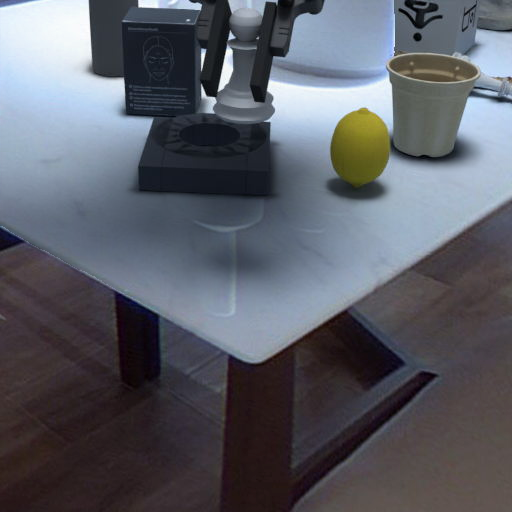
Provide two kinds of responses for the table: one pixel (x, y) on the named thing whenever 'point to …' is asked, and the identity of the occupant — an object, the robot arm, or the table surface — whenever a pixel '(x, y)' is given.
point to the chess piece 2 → (490, 81)
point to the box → (161, 61)
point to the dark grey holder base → (205, 156)
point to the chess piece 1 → (243, 73)
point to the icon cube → (435, 25)
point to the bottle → (108, 34)
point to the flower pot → (429, 100)
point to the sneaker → (495, 14)
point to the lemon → (360, 147)
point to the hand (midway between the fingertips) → (232, 90)
